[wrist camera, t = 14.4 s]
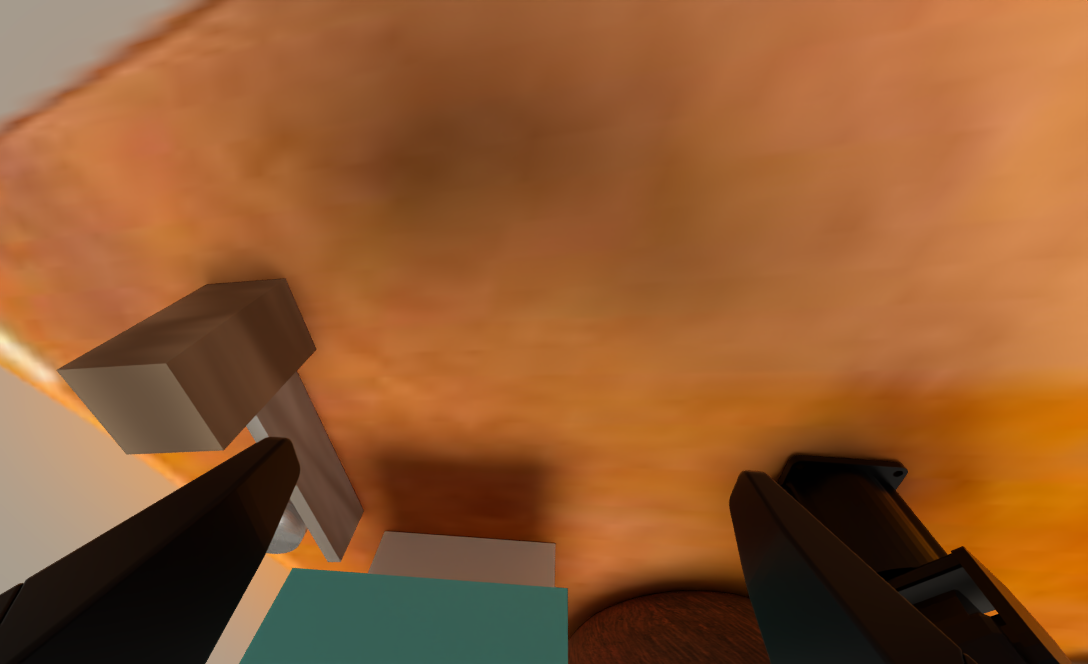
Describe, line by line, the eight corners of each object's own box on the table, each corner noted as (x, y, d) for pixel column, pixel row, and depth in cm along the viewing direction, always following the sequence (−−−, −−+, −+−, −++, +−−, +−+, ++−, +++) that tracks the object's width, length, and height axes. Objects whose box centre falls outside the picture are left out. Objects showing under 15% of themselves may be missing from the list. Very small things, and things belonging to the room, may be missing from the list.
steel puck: (304, 464, 27) (278, 502, 24) (334, 512, 29) (313, 551, 27) (235, 469, 27) (203, 507, 25) (270, 517, 30) (244, 555, 27)
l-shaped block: (566, 456, 25) (568, 736, 14) (551, 590, 33) (544, 840, 22) (363, 442, 25) (213, 709, 14) (394, 578, 33) (310, 822, 22)
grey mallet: (285, 278, 20) (166, 363, 14) (386, 510, 29) (339, 625, 22) (206, 284, 20) (56, 369, 14) (330, 512, 29) (269, 625, 23)
